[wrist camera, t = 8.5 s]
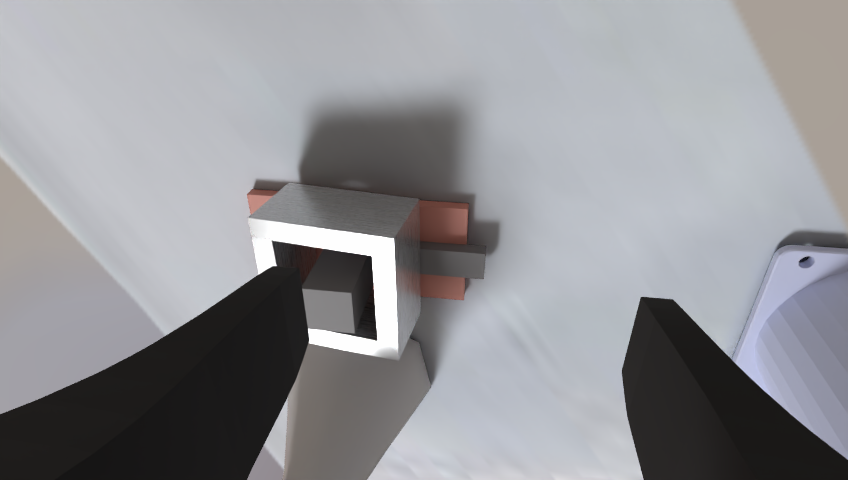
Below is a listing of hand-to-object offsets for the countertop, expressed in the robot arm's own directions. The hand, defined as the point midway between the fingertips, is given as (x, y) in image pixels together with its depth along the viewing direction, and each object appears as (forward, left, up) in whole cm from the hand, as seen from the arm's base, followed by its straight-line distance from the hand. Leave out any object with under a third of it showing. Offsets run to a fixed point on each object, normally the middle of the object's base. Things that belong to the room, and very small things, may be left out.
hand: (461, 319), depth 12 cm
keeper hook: (+5, +5, -10) cm, 12 cm away
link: (+5, +4, -9) cm, 11 cm away
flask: (+6, +12, -10) cm, 17 cm away
